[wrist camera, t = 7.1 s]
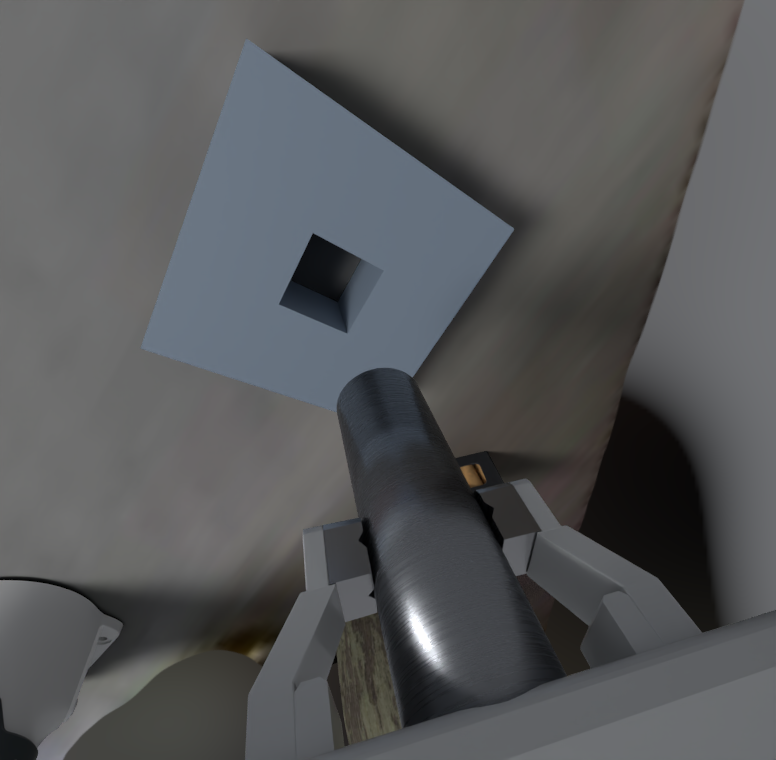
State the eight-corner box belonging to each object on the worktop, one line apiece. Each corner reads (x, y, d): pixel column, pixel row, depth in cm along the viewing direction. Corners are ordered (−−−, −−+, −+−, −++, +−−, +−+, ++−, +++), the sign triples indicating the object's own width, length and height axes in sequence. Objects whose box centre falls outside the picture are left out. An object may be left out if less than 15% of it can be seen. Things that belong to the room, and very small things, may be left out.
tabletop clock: (424, 593, 55) (509, 873, 35) (362, 616, 55) (411, 912, 35) (397, 536, 47) (489, 863, 27) (324, 564, 47) (359, 915, 26)
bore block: (366, 387, 34) (379, 425, 30) (160, 311, 27) (140, 348, 23) (480, 211, 28) (514, 228, 24) (252, 51, 21) (246, 38, 17)
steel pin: (402, 441, 17) (524, 761, 8) (326, 431, 15) (383, 792, 7) (433, 376, 15) (616, 688, 7) (352, 359, 14) (460, 712, 6)
